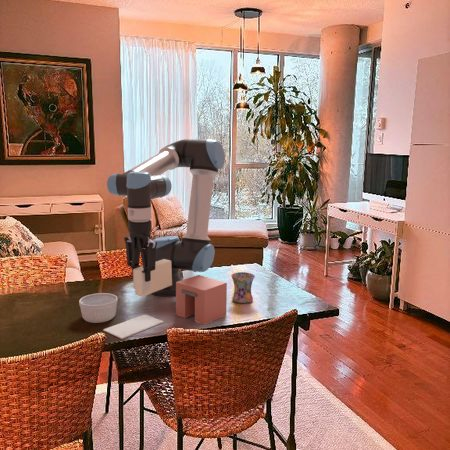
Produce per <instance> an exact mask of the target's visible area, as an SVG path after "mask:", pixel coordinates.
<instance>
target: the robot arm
mask: <svg viewBox="0 0 450 450" xmlns="http://www.w3.org/2000/svg"><path fill="white" fill-rule="evenodd" d="M225 159H226V158H225V151H224V148H223V145H222V144H221V142H220V141H218V140H217V139H211V138H210V139H209V138H207V139H206V138H204V139H199V138H198V139H197V138H196V139H194V138H193V139H189V138H184V139H181V140H177V141H175V142H172V143H170V144H168V145H166V146H164V147H162V148H161V149H160V150H159V151H158V153H157V154H155V155H153V156H151V157H150V158H148V159H146V160H145V161H142V162H141V163H139V164H138V165H136V166H133V167H132V168H130V169H128V170H127V171H124V172H123V173H112V174H110V175H109V176H108V177H107V181H106V187H107V191H108V193H110V194H111V195H115V196H118V197H126V198H127V200H126V201H127V219H128V221H127V228H128V229H127V230H128V233H129V236H125V237H124V238H123V240H124V242H125V250H126V251H125V252H126V263H127V264H126V265H127V266H128V267H129V268H131V270H132V271H131V273H132V274H131V276H132V278H133V289H134V290H135V280H134V269H135V268H138V267H141V265H140V259H141V262H142V266H143V270H144V271H142V291H147V290H150V280H151V271H153V270H155V262H157V261H160V260H163V259H166V260H170V261H171V268H172V285H171V286H169V287H166V288H164V289H161V290H158V291H156V292H153V293H151V294H150V295H153V296H156V297H157V296H158V297H169V296H176V282H178V281H181V280H182V277H181V274H180V270H182V271H183V270H184V271H191V272H193V273H196V272H197V273H204V272H206V271H208V270H209V269H210V267H211V266H212V264H213V262H214V259H215V258H214V257H215V255H216V254H215V253H216V252H215V247H214V245H213V244H211V238H210V237H209V236H208V231H209V223H210V214H211V213H210V211H211V204H212V203H211V202H212V195H213V185H214V178H215V177H216V176H217V175H218V174H219V173H218V172H219V170H221V169H223V167H224V165H225ZM177 168H189V172H190V173H191V175H192V180H191V186H190V187H191V188H190V189H191V190H190V198H189V199H190V200H189V206H188V215H187V225H186V233H185V234H184V235H183V236H182V237H181V240H180V238H179V236H178V235H166V236H161V237H160V236H159V237H156V238H153V239H152V237H151V232H152V230H153V229H152V228H153V227H152V200H154V199H159V198H161V199H162V198H163V197H166V196H168V195H169V194H170V193H171V191H172V185H173V184H172V181H171V180H170V178H169V177H168V176H166V175H164V173H166V172H168V171H170V170H172V171H173V170H175V169H177Z"/></svg>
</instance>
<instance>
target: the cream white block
mask: <svg viewBox="0 0 450 450" xmlns="http://www.w3.org/2000/svg"><path fill="white" fill-rule="evenodd" d="M142 271H144V270H143V265H142V266H141V265H140V267H138V268H135V269H134V280H135V289H134V294H135V296H139V297H142V298H143V297H146V296H148V295H152V294H151V293H153V292H156V291H158V290H161V289H164V288H166V287H169V286H171V285H172V268H171V261H170V260H166V259H163V260H160V261H157V262H155V270H153V271H151V280H150V290H147V291H142Z"/></svg>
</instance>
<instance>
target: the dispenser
mask: <svg viewBox="0 0 450 450" xmlns="http://www.w3.org/2000/svg"><path fill="white" fill-rule="evenodd" d="M227 290H228V283H227V282H226V281H223V280H219V279H215V278H211V277H208V276H204V275H201V274H198V275H194V276H191V277H188V278H184V279H181V281H178V282H176V295H175V314H176V316H178V317H180V318H184V319H186V318H189V317H191V316H193V315H194V322H195V323H198V324H201V325H203V326H205V325H207V324H209V323H212V322H214V321H216V320H219V319H221V318H223V317H225V316H227V299H228V296H227V295H228V294H227V293H228V292H227Z"/></svg>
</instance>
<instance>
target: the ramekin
mask: <svg viewBox="0 0 450 450" xmlns="http://www.w3.org/2000/svg"><path fill="white" fill-rule="evenodd" d="M78 305H79V307H80V313H81V317H82V318H83V320H84V321H85V322H87V323H92V324H96V323H97V324H98V323H99V324H100V323H105V322H109V321H110V320H111V321H112V319H114V318H115V316H116V314H117V307H118V296H117V295H115V294H112V293H108V292H107V293H106V292H98V293H92V294H88V295H85V296H82V297H81V298H80V299H79V301H78Z"/></svg>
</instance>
